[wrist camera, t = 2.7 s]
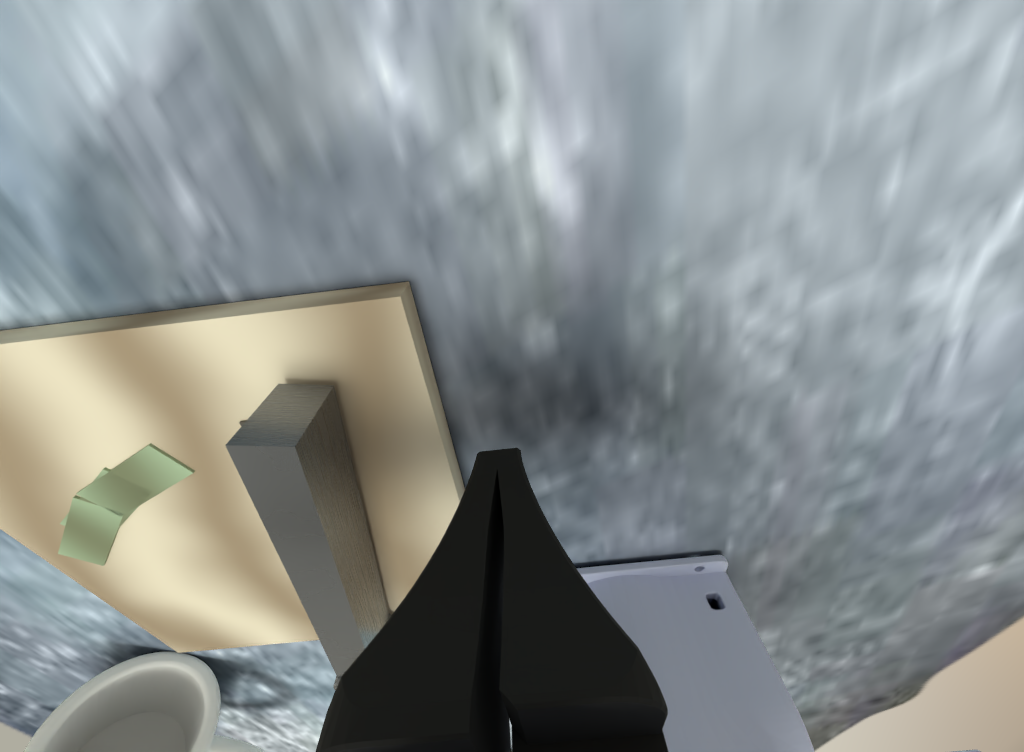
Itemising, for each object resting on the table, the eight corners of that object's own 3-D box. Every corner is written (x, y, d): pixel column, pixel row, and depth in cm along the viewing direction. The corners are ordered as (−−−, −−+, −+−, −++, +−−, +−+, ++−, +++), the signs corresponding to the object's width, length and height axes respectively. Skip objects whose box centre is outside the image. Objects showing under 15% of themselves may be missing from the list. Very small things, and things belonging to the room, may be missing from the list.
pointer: (345, 383, 11) (294, 469, 8) (398, 630, 20) (383, 712, 17) (269, 381, 11) (191, 467, 8) (357, 630, 20) (334, 713, 17)
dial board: (409, 281, 11) (399, 297, 10) (495, 600, 21) (495, 625, 20) (-163, 350, 12) (-232, 373, 10) (192, 628, 22) (176, 655, 21)
